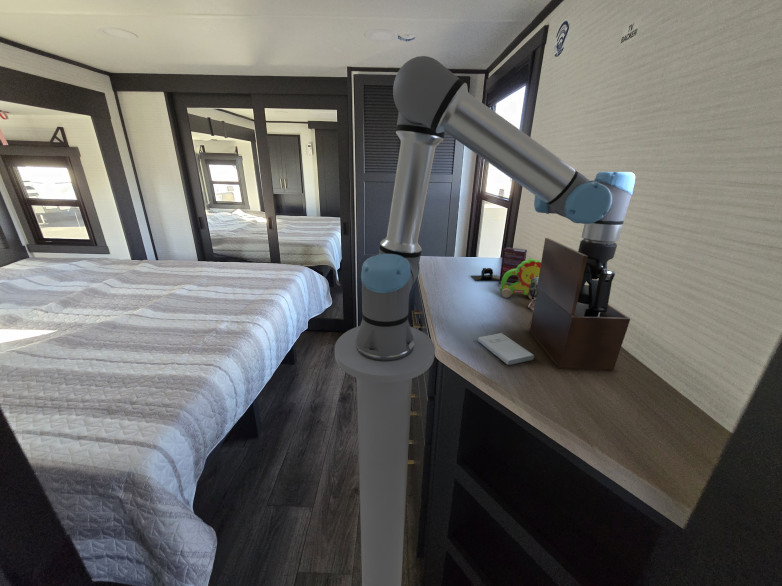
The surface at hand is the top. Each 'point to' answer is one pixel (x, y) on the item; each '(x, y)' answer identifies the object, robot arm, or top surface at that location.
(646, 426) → the top surface
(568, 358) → the chest
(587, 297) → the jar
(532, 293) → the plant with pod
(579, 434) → the top surface
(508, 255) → the supplement box
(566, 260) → the lid
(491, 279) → the build plate
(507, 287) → the toy lion
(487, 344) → the hard drive
